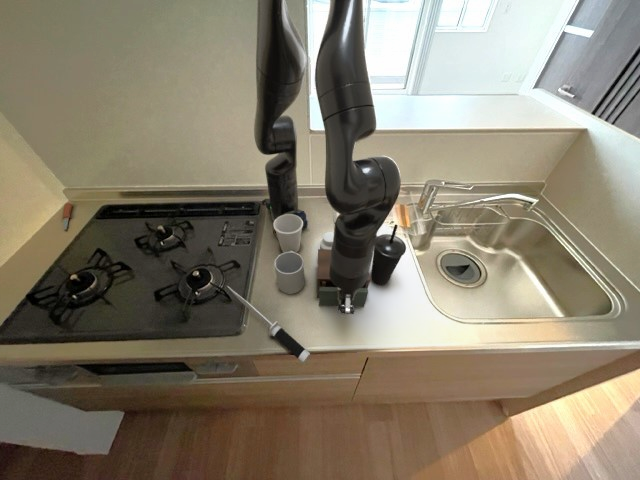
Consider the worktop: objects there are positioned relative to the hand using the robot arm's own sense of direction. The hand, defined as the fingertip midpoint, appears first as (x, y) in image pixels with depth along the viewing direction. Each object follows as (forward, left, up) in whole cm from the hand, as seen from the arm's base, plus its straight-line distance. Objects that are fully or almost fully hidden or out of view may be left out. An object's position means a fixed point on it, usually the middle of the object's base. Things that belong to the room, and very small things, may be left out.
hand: (342, 308), depth 60 cm
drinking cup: (-3, +16, -5) cm, 17 cm away
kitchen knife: (-82, -50, -4) cm, 97 cm away
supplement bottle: (-17, +9, -5) cm, 19 cm away
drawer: (-5, +4, -4) cm, 7 cm away
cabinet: (-8, +6, -4) cm, 11 cm away
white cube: (-13, +26, -5) cm, 29 cm away
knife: (-9, -16, -4) cm, 19 cm away
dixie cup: (-27, +2, -4) cm, 28 cm away
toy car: (-36, +7, -1) cm, 36 cm away
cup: (-17, -4, -5) cm, 18 cm away
